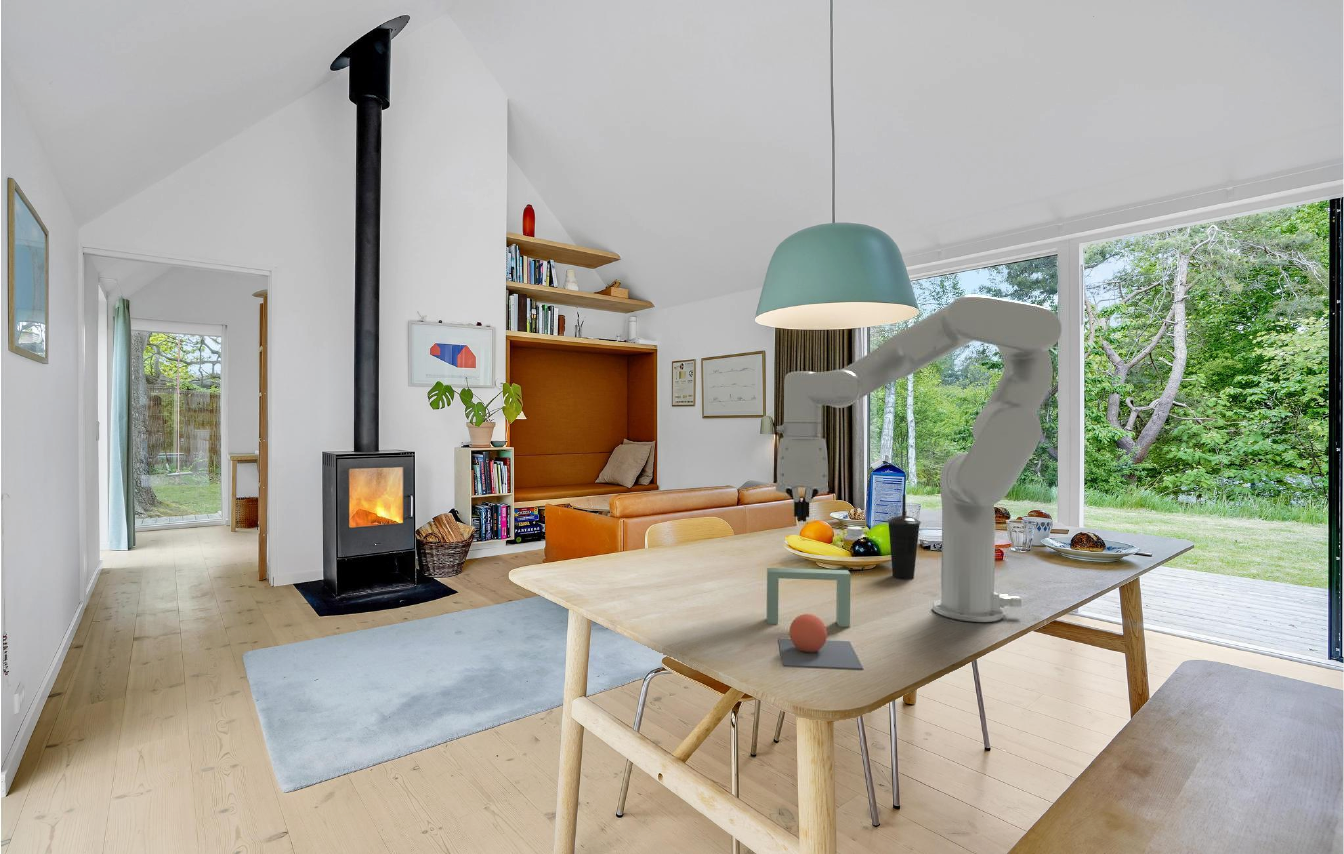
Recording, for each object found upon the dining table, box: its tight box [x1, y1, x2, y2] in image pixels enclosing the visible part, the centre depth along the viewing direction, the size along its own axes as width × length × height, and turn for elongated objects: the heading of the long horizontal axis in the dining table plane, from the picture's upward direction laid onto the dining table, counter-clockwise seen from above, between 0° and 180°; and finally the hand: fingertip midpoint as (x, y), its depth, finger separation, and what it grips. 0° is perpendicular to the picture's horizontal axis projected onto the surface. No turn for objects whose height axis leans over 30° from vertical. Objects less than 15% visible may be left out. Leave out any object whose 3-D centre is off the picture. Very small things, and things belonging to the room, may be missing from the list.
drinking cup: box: [886, 493, 922, 580], centre depth 156 cm, size 8×8×20 cm
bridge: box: [766, 567, 851, 628], centre depth 120 cm, size 3×15×10 cm, turn 84°
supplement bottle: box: [842, 526, 866, 570], centre depth 166 cm, size 6×6×10 cm
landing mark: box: [777, 637, 864, 671], centre depth 104 cm, size 12×12×1 cm
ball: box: [788, 613, 828, 653], centre depth 105 cm, size 6×6×6 cm
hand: (801, 520), depth 133 cm, fingers closed
